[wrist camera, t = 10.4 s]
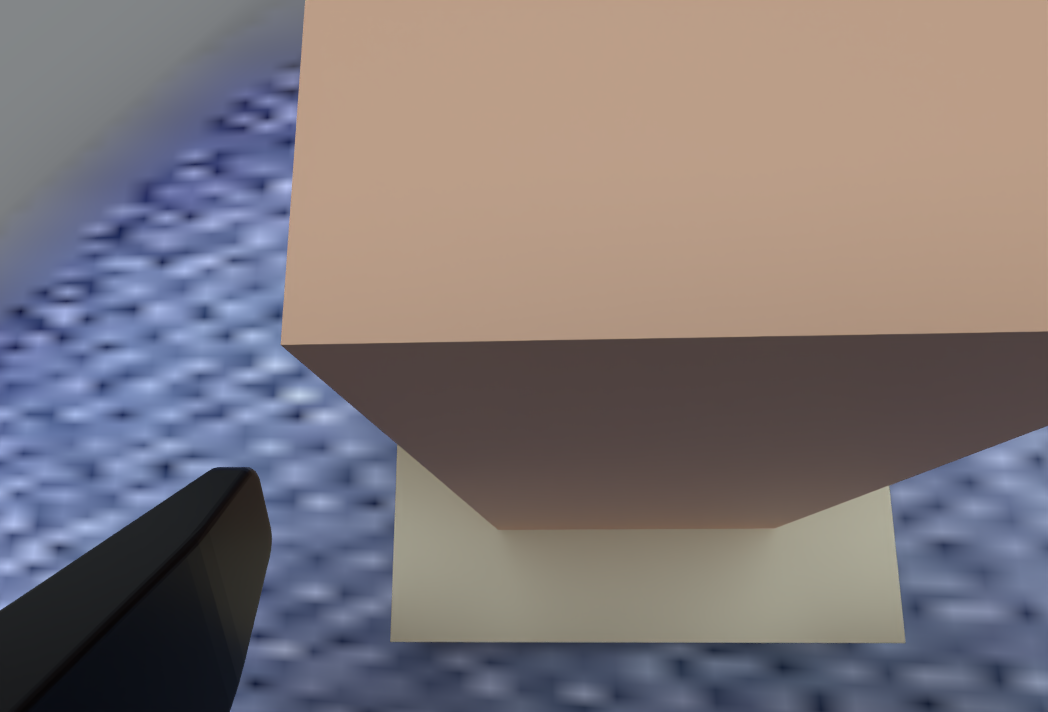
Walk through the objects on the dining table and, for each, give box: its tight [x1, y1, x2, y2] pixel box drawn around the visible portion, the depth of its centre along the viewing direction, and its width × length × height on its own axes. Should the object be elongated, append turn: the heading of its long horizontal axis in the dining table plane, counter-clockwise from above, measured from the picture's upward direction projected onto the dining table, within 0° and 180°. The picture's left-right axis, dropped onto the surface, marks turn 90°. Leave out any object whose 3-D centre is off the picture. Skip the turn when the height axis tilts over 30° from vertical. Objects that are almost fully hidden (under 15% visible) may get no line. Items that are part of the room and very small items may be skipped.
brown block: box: [281, 0, 1048, 530], centre depth 11 cm, size 5×5×12 cm
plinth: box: [390, 444, 905, 643], centre depth 19 cm, size 9×9×3 cm
